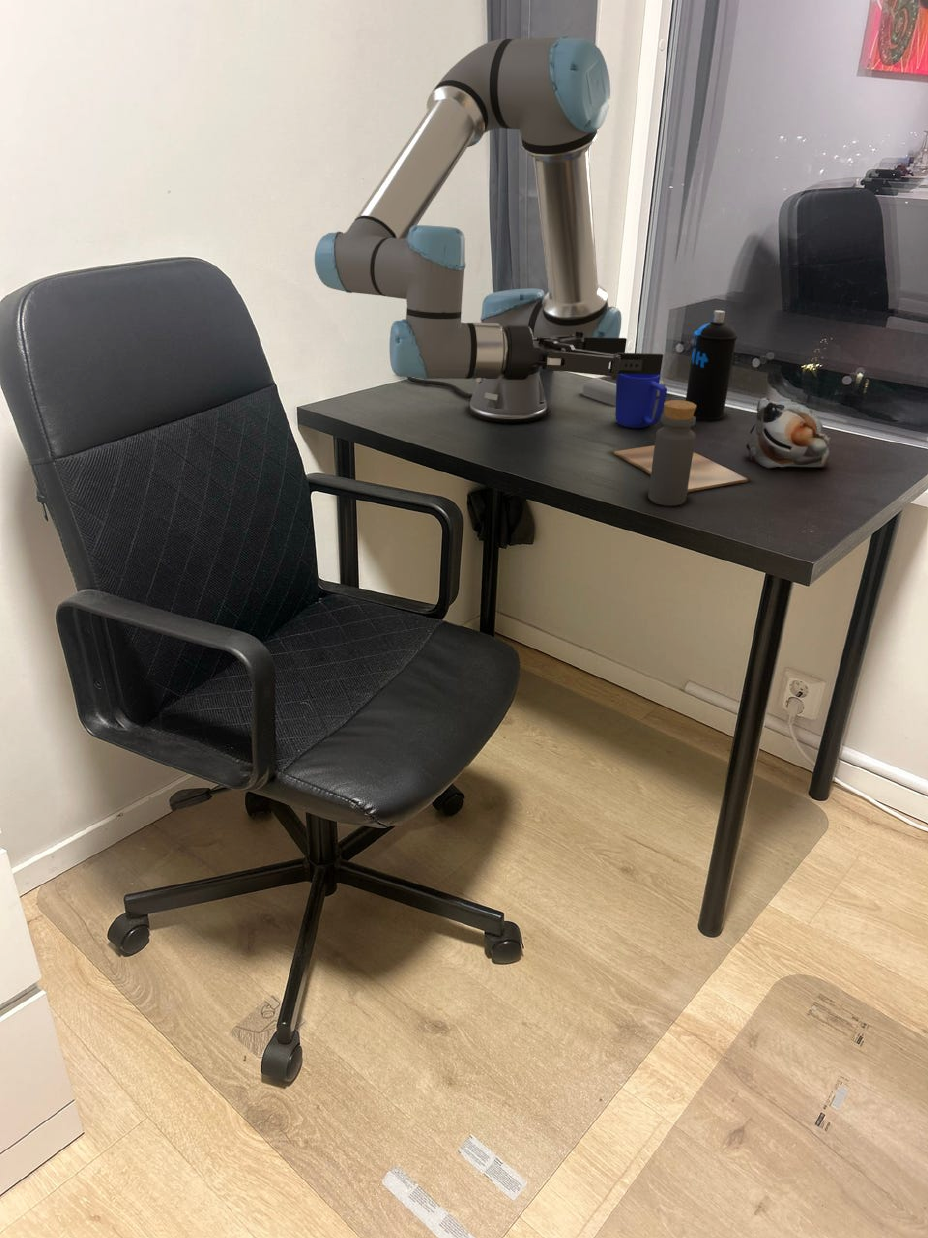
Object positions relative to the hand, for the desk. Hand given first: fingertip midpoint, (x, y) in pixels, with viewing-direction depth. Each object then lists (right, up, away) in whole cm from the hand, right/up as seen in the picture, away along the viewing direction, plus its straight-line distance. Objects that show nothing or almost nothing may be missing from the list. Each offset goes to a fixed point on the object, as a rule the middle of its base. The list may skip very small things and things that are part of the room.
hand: (642, 355), depth 128 cm
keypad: (+8, +9, +61) cm, 62 cm away
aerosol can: (+22, +3, +49) cm, 54 cm away
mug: (+8, -2, +41) cm, 42 cm away
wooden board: (+11, -12, +22) cm, 28 cm away
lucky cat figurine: (+30, -12, +25) cm, 41 cm away
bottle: (+6, -20, +10) cm, 23 cm away
